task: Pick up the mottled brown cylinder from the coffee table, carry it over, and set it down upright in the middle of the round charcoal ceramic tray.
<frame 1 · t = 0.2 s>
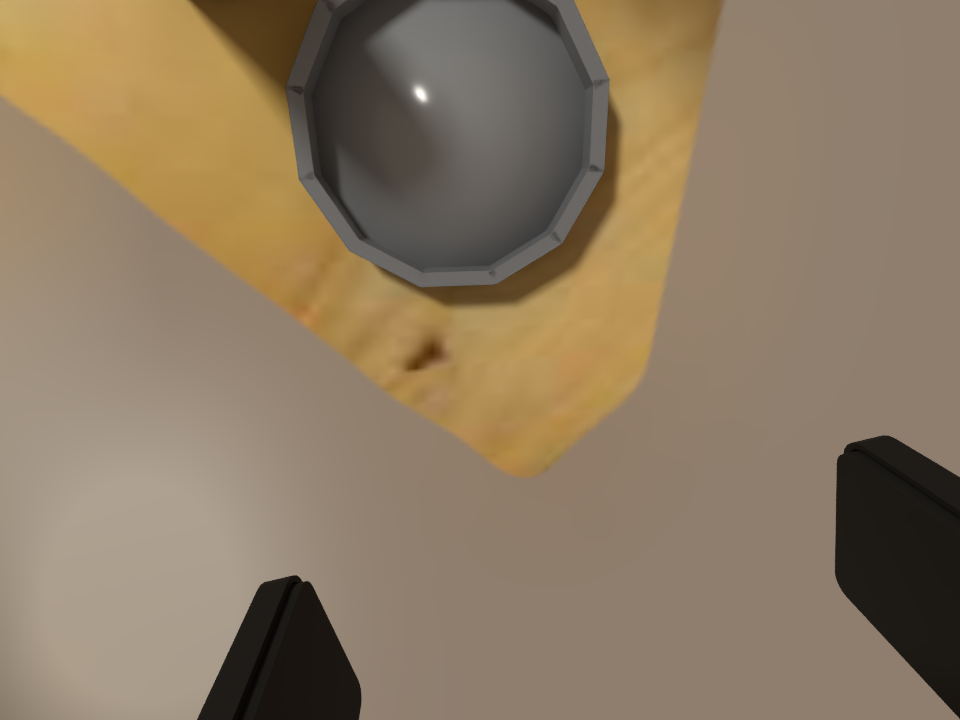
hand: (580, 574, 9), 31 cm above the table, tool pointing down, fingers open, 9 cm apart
round tray: (451, 134, 35), on the table
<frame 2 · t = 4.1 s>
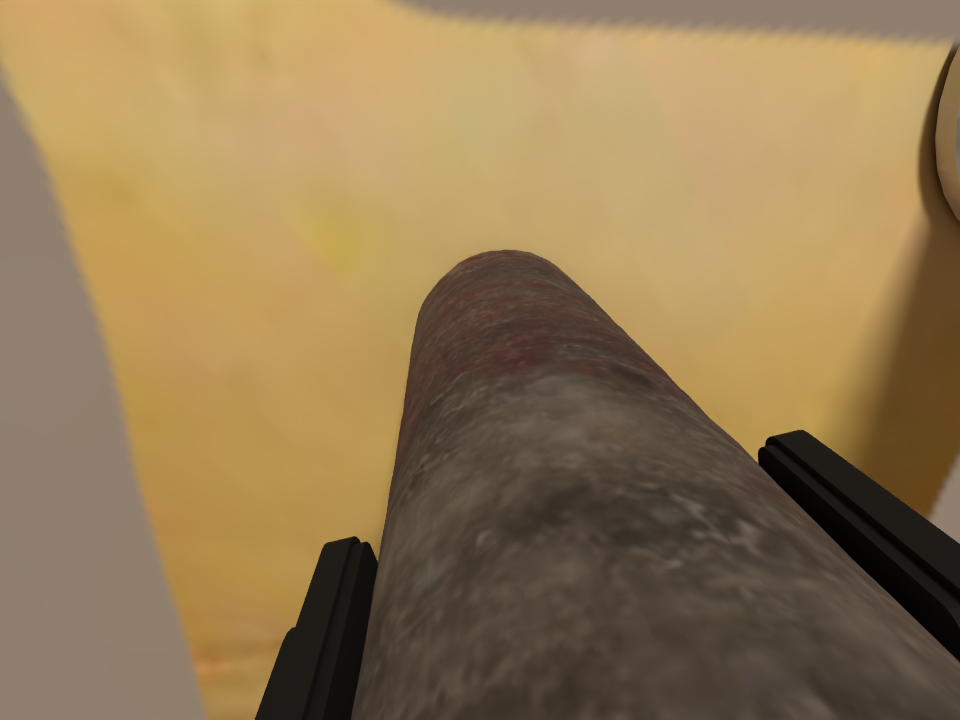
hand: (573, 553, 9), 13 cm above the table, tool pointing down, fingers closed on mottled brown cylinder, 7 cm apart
mottled brown cylinder: (504, 336, 21), on the table, touching gripper
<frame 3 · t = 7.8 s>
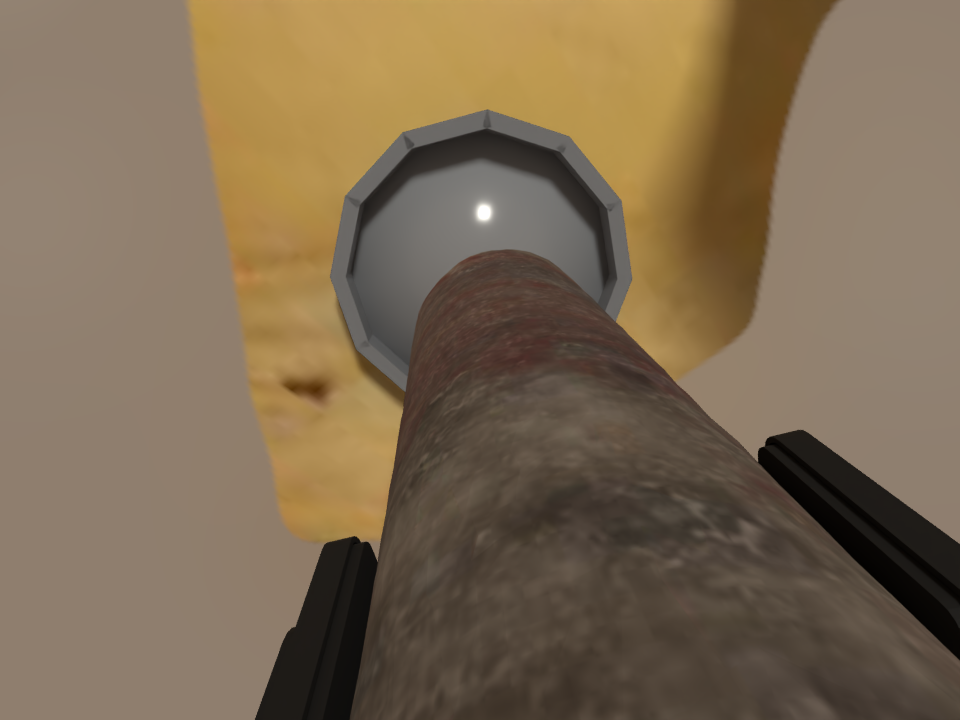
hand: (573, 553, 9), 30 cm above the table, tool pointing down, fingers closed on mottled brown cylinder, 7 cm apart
round tray: (481, 269, 37), on the table
mottled brown cylinder: (504, 336, 21), point 17 cm above the table, touching gripper
when the fingers open (16 cm above the table, at t = 11.3 s): mottled brown cylinder drops 2 cm, resting on round tray.
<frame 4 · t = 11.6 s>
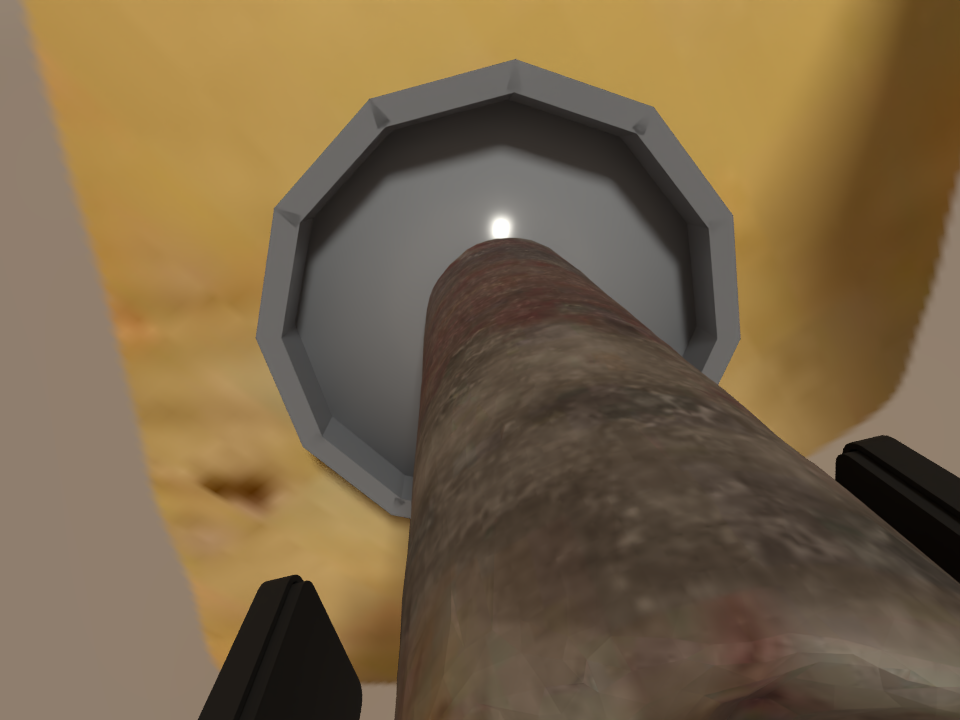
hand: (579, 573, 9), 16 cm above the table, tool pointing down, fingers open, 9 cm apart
round tray: (498, 319, 24), on the table
mottled brown cylinder: (507, 319, 23), point 1 cm above the table, touching round tray
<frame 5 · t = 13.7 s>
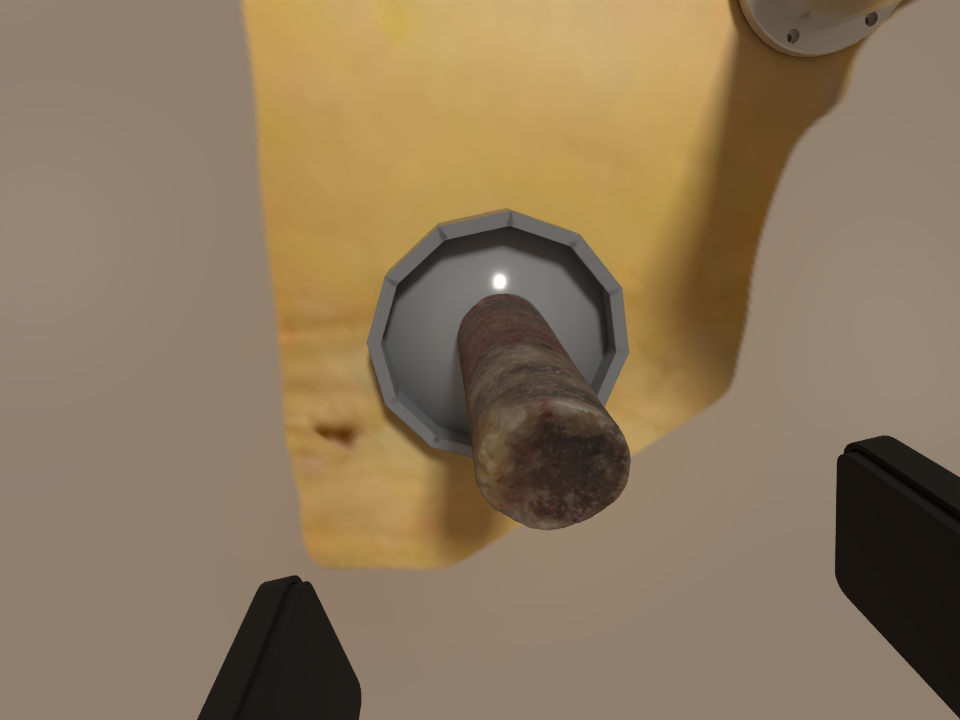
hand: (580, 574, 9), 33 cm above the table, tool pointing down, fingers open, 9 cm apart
round tray: (497, 336, 42), on the table
mottled brown cylinder: (502, 336, 41), point 1 cm above the table, touching round tray
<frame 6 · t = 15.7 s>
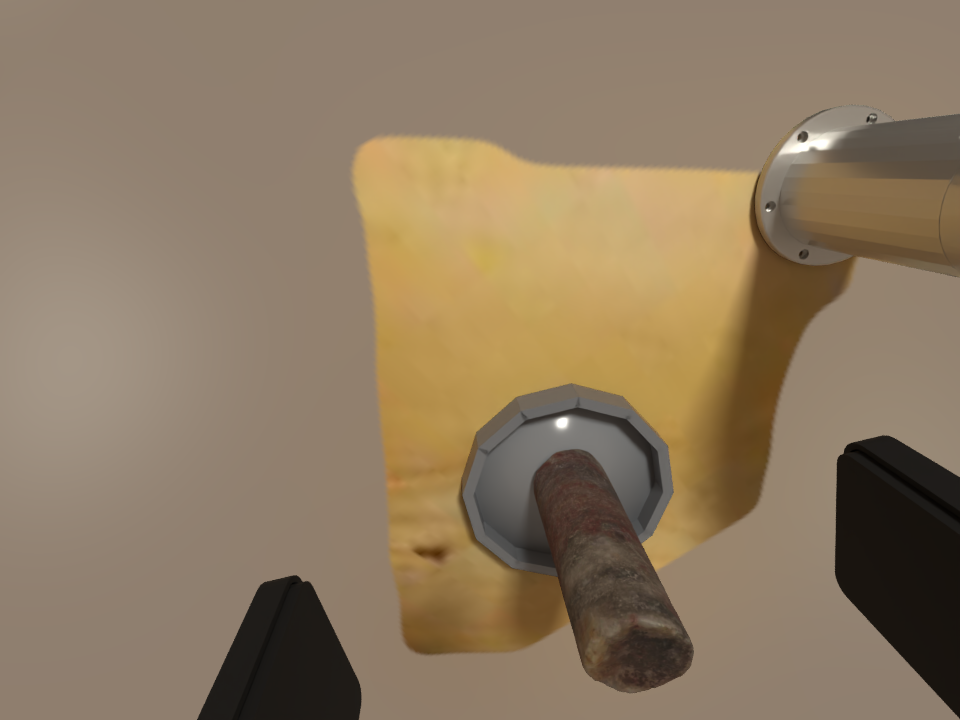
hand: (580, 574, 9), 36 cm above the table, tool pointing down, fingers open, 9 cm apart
round tray: (562, 476, 51), on the table
mottled brown cylinder: (568, 478, 50), point 1 cm above the table, touching round tray
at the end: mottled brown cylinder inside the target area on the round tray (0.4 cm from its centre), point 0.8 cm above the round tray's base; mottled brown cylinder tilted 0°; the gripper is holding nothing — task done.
